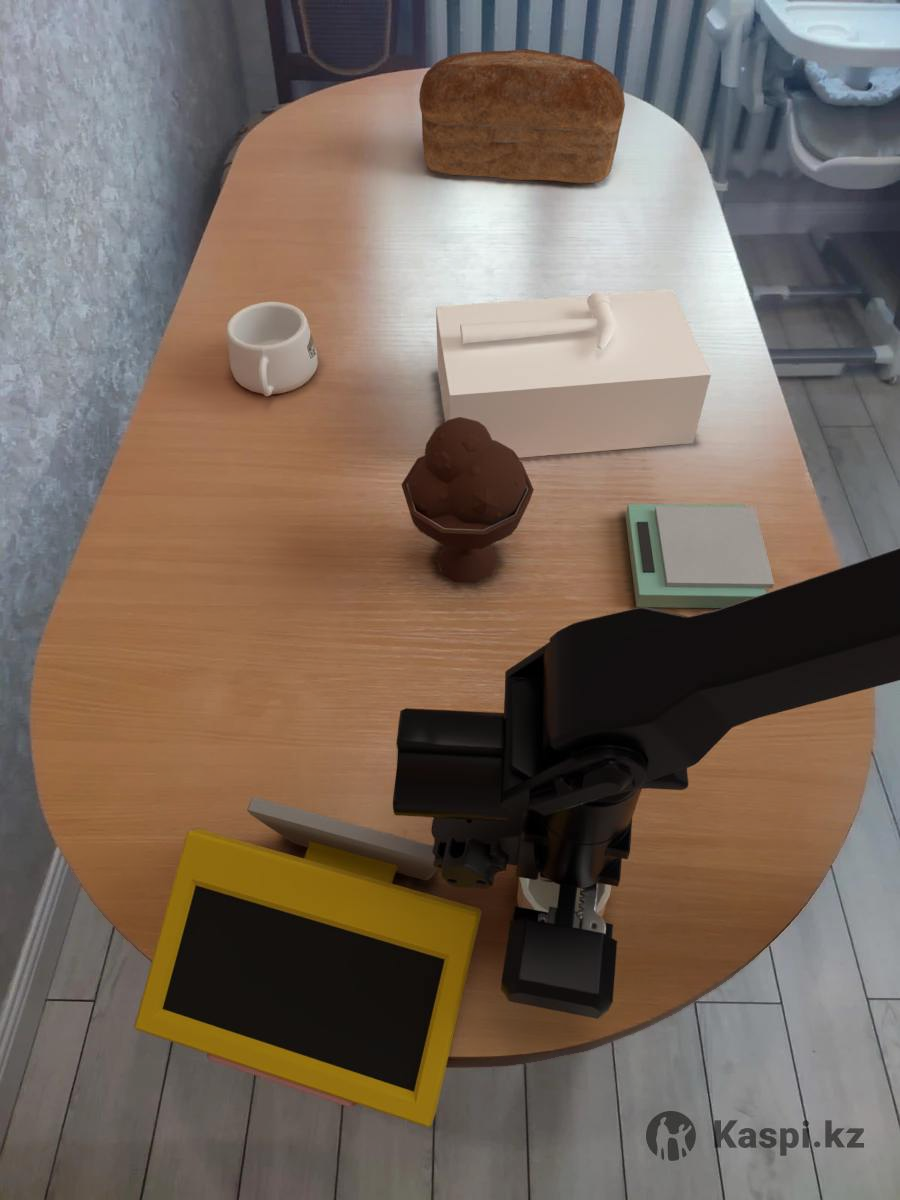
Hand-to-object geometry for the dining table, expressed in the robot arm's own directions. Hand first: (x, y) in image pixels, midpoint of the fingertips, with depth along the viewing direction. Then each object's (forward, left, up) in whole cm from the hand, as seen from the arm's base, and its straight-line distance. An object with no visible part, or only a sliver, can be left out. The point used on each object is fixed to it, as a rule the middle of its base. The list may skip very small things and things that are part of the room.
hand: (561, 895), depth 62 cm
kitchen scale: (-8, -33, -1) cm, 35 cm away
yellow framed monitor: (+15, -1, +3) cm, 15 cm away
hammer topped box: (+6, -53, -1) cm, 53 cm away
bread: (+18, -105, -1) cm, 107 cm away
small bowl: (0, 0, -1) cm, 1 cm away
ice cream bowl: (+12, -30, -1) cm, 32 cm away
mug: (+38, -53, -1) cm, 65 cm away
